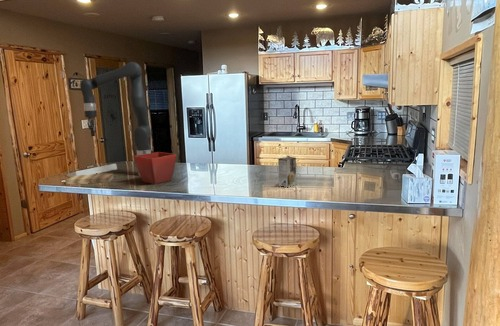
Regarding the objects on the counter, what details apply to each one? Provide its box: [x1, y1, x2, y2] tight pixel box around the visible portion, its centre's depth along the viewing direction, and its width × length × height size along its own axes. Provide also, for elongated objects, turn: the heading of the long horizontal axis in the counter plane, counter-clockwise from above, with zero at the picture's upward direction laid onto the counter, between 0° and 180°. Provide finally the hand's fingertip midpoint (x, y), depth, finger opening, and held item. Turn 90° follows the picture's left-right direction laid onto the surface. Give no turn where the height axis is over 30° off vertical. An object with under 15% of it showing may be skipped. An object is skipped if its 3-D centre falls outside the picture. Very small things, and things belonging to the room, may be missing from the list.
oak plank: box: [65, 174, 96, 185], centre depth 233 cm, size 14×14×3 cm
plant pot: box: [133, 151, 177, 185], centre depth 227 cm, size 19×19×17 cm
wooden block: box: [89, 173, 114, 184], centre depth 235 cm, size 11×14×3 cm
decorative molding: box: [66, 163, 118, 178], centre depth 264 cm, size 34×5×10 cm
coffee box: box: [277, 156, 297, 188], centre depth 207 cm, size 9×6×16 cm
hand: (93, 136), depth 244 cm, fingers closed
